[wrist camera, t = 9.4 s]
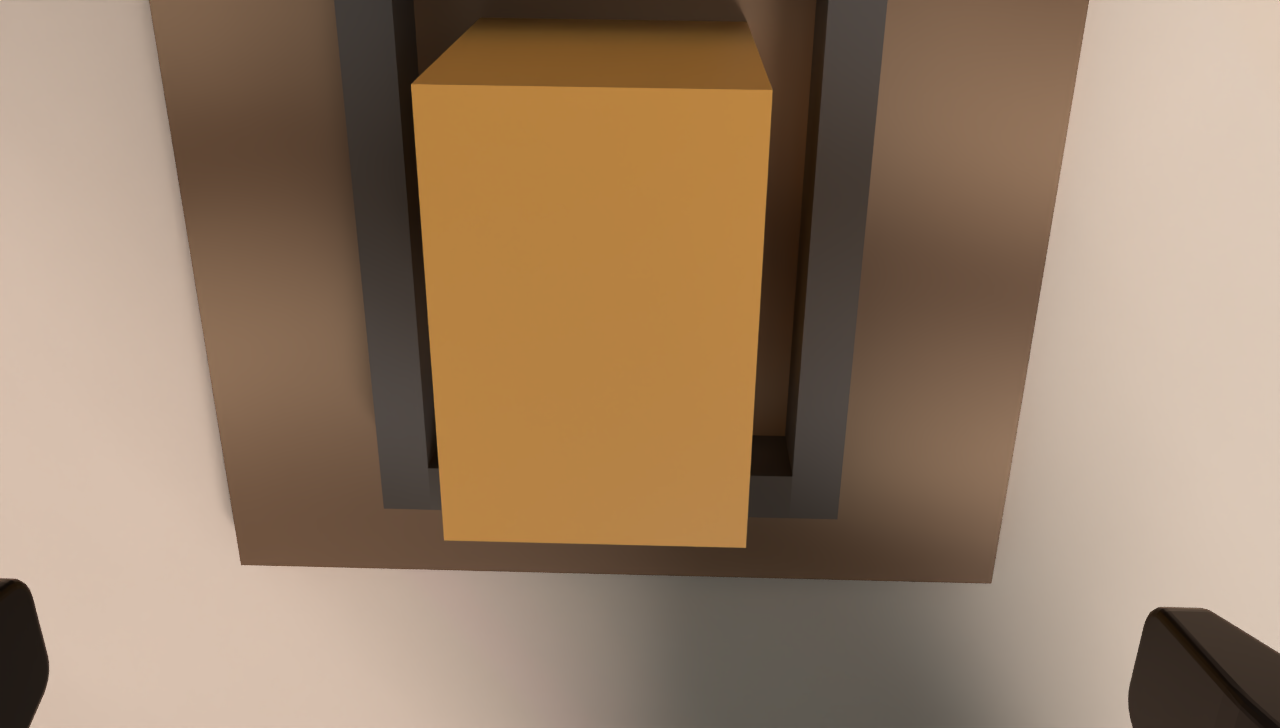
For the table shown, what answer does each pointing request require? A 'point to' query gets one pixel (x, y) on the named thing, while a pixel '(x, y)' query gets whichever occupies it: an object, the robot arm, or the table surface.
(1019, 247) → the end holder
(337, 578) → the table surface
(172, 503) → the table surface
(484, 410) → the tan cardboard box
